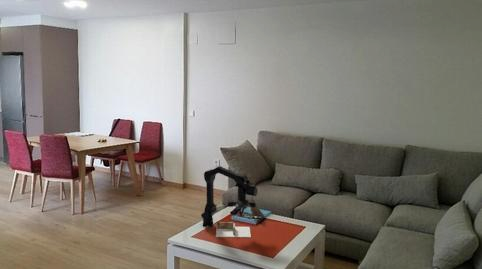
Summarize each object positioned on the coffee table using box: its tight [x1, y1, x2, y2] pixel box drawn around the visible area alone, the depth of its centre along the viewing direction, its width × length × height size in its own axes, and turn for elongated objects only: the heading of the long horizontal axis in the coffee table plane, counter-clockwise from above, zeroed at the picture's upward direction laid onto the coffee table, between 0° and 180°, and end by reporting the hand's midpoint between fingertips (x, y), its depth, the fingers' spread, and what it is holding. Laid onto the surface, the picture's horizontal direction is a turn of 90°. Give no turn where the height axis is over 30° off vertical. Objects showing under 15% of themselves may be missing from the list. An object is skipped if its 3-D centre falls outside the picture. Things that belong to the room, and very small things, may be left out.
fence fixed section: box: [216, 221, 236, 229], centre depth 266 cm, size 12×1×5 cm, turn 92°
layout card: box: [215, 226, 252, 238], centre depth 262 cm, size 23×17×1 cm
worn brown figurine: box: [249, 196, 265, 219], centre depth 289 cm, size 12×6×18 cm, turn 86°
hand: (240, 215), depth 260 cm, fingers closed
